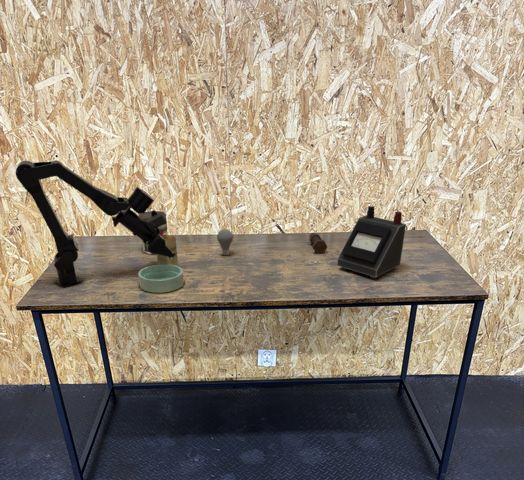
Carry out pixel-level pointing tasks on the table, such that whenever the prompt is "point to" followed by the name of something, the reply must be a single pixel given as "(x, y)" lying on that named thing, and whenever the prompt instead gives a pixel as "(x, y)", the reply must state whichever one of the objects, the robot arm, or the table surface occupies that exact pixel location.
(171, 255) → the robot arm
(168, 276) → the basin
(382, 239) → the voltmeter
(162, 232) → the coffee can
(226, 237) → the light bulb
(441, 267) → the table surface
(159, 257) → the shoe polish box
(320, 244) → the bolt
